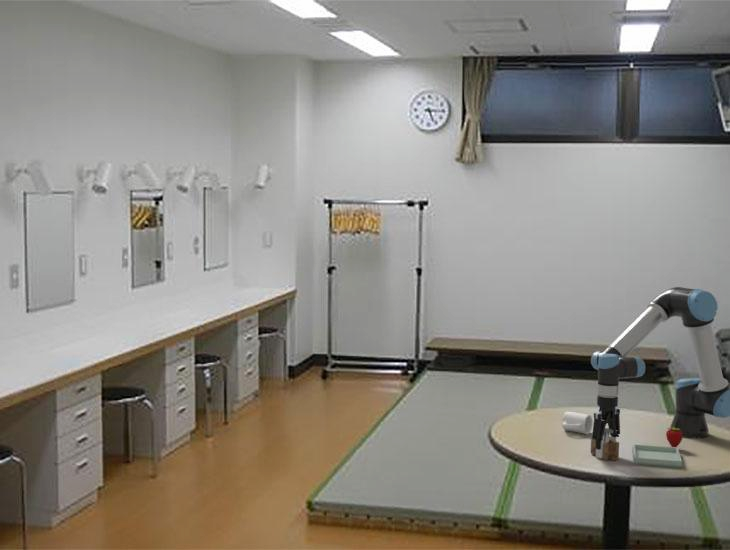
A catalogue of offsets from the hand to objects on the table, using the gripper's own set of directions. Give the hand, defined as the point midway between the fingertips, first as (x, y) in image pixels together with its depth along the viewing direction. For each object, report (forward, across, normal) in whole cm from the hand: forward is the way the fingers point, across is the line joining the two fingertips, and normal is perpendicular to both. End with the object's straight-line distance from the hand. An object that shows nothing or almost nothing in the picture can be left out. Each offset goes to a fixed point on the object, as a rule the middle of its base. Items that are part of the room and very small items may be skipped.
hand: (605, 455), depth 353 cm
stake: (+1, 0, 0) cm, 1 cm away
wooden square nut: (0, 0, -1) cm, 1 cm away
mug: (+1, -21, -29) cm, 36 cm away
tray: (+1, -13, +14) cm, 19 cm away
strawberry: (+1, -31, +10) cm, 33 cm away
